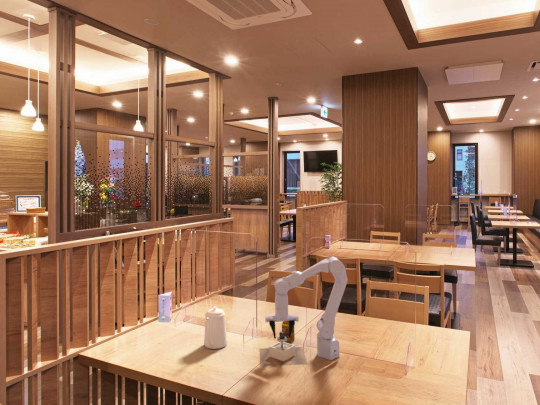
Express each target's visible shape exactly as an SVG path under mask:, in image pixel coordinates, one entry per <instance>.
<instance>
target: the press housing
mask: <svg viewBox="0 0 540 405" xmlns="http://www.w3.org/2000/svg"><path fill="white" fill-rule="evenodd" d="M280 343H281V342H279V341H277V342H276V343H274V344H271V345H269V347H268V348H270V357H273V358H275V359H278V360H281V361H285V360H287V359H289V358H291V357H293V356H295V347H296V345H295V344H293V343H286V342H283V343H284V344H287V345H290V346H291V347H289V348H287V349H285V350H281V349H278V348H275V347H273V346H276V345H278V344H280Z"/></svg>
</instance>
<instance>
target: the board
mask: <svg viewBox="0 0 540 405" xmlns="http://www.w3.org/2000/svg"><path fill="white" fill-rule="evenodd" d="M306 357H307V356H306V354H305V350H304V347H303V346H300V347H299V346H295V356H293V357H291V358H289V359H287V360H285V361H281V360H278V359H275V358H273V357H270V347H267V348H266V347H265V348H264V347H263V348H259V366H265V367H269V366H286V365H287V366H292V365H293V366H295V365H297V366H298V365H308V361H307V358H306Z"/></svg>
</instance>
